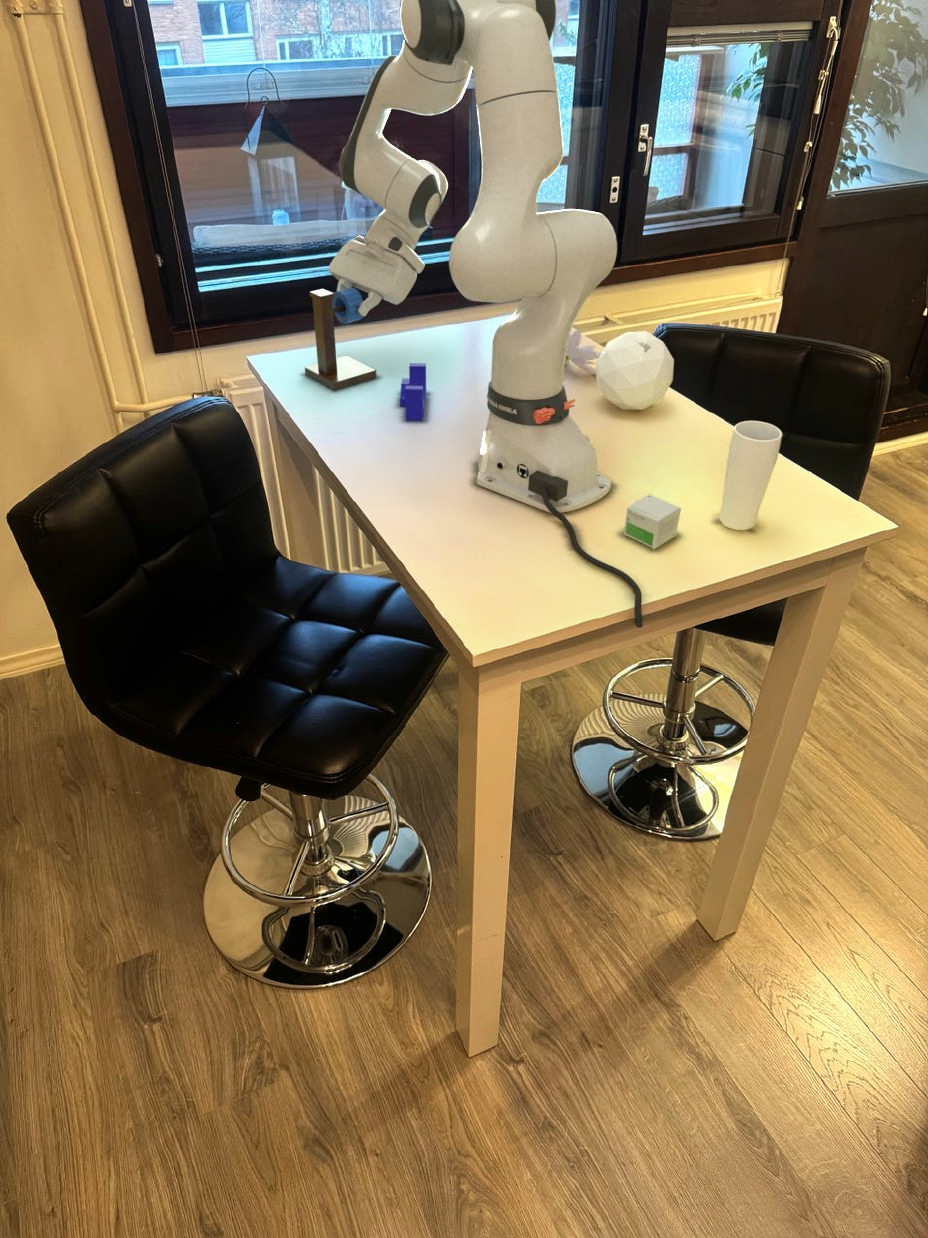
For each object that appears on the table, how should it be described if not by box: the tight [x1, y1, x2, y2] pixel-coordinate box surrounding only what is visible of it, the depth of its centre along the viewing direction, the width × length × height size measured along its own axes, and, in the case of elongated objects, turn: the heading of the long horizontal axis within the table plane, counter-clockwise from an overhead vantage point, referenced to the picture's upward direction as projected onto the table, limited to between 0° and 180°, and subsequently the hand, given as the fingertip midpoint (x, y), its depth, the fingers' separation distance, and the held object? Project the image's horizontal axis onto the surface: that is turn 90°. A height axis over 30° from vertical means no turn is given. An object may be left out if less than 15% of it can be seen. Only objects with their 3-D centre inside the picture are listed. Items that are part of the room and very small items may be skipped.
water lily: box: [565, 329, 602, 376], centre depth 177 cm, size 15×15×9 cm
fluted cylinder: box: [332, 287, 365, 325], centre depth 171 cm, size 3×6×6 cm, turn 41°
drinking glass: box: [718, 420, 783, 531], centre depth 131 cm, size 7×7×15 cm
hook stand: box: [304, 288, 377, 391], centre depth 172 cm, size 10×10×17 cm
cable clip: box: [399, 362, 427, 422], centre depth 164 cm, size 12×4×6 cm, turn 179°
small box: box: [623, 494, 682, 550], centre depth 130 cm, size 6×6×5 cm
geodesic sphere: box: [595, 330, 675, 411], centre depth 164 cm, size 15×14×14 cm
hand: (348, 308), depth 171 cm, fingers closed on fluted cylinder, 6 cm apart
